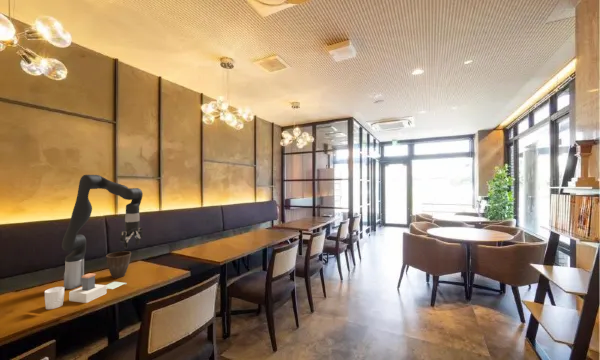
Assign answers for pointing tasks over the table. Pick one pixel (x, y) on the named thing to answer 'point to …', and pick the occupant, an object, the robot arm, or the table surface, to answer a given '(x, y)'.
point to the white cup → (54, 297)
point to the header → (87, 294)
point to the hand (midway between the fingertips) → (131, 246)
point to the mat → (114, 285)
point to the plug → (88, 281)
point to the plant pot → (118, 263)
